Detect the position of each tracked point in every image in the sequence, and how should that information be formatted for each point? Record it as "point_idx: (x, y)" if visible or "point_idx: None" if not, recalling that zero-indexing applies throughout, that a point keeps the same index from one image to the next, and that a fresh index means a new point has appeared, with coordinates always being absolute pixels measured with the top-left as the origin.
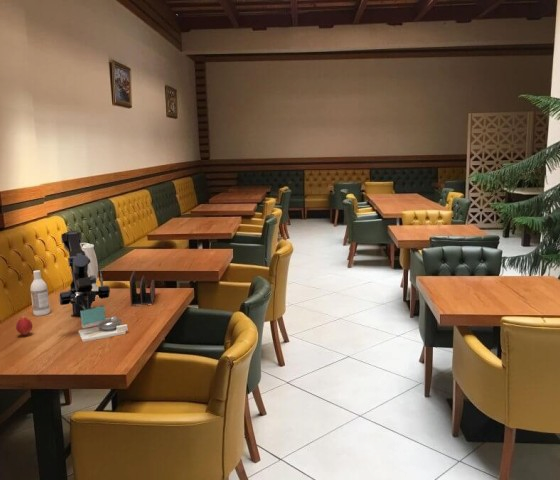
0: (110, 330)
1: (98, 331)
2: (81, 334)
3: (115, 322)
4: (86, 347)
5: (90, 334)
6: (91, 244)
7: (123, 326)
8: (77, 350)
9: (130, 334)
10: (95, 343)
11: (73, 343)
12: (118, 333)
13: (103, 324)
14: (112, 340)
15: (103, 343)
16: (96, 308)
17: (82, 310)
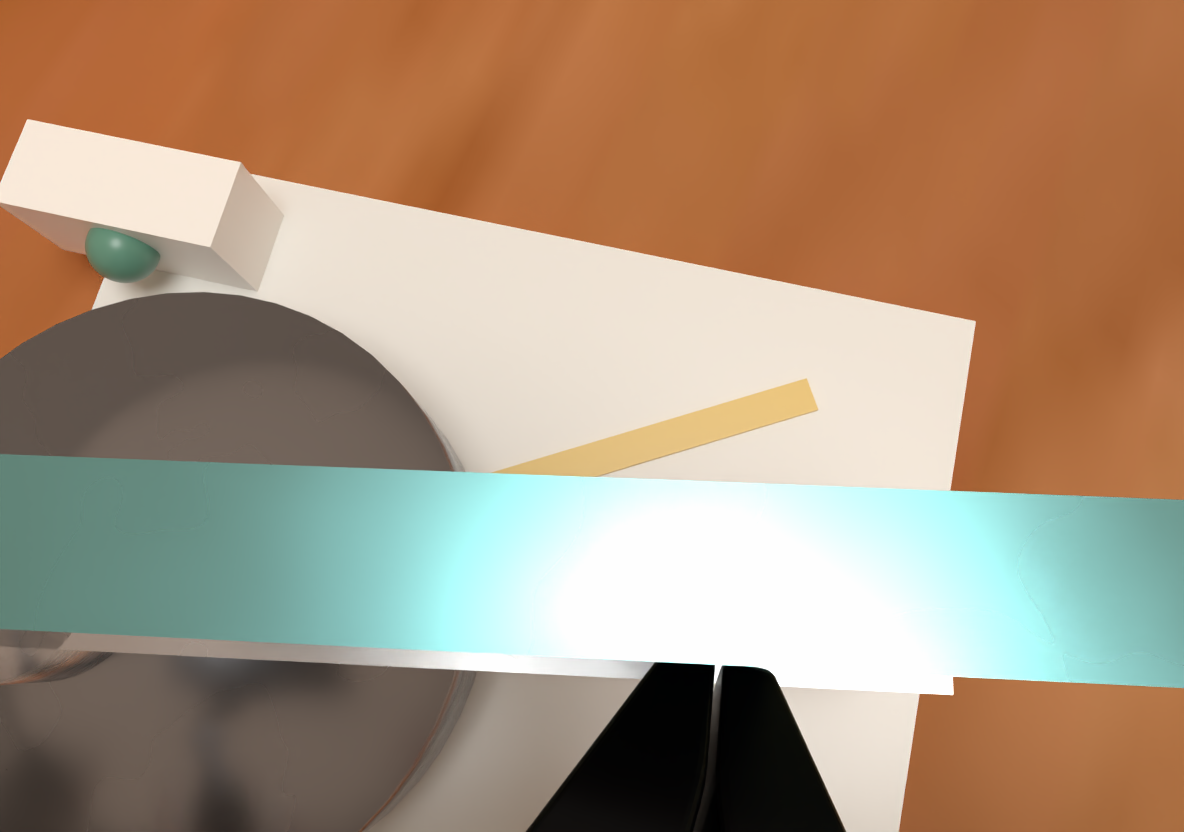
0: None
1: None
2: None
3: (115, 366)
4: (993, 35)
5: None
6: None
7: (110, 141)
8: (1164, 10)
9: (149, 84)
10: (800, 105)
11: (1135, 408)
12: (290, 191)
13: (394, 451)
14: (517, 33)
15: (694, 9)
16: (362, 468)
17: (1137, 576)
